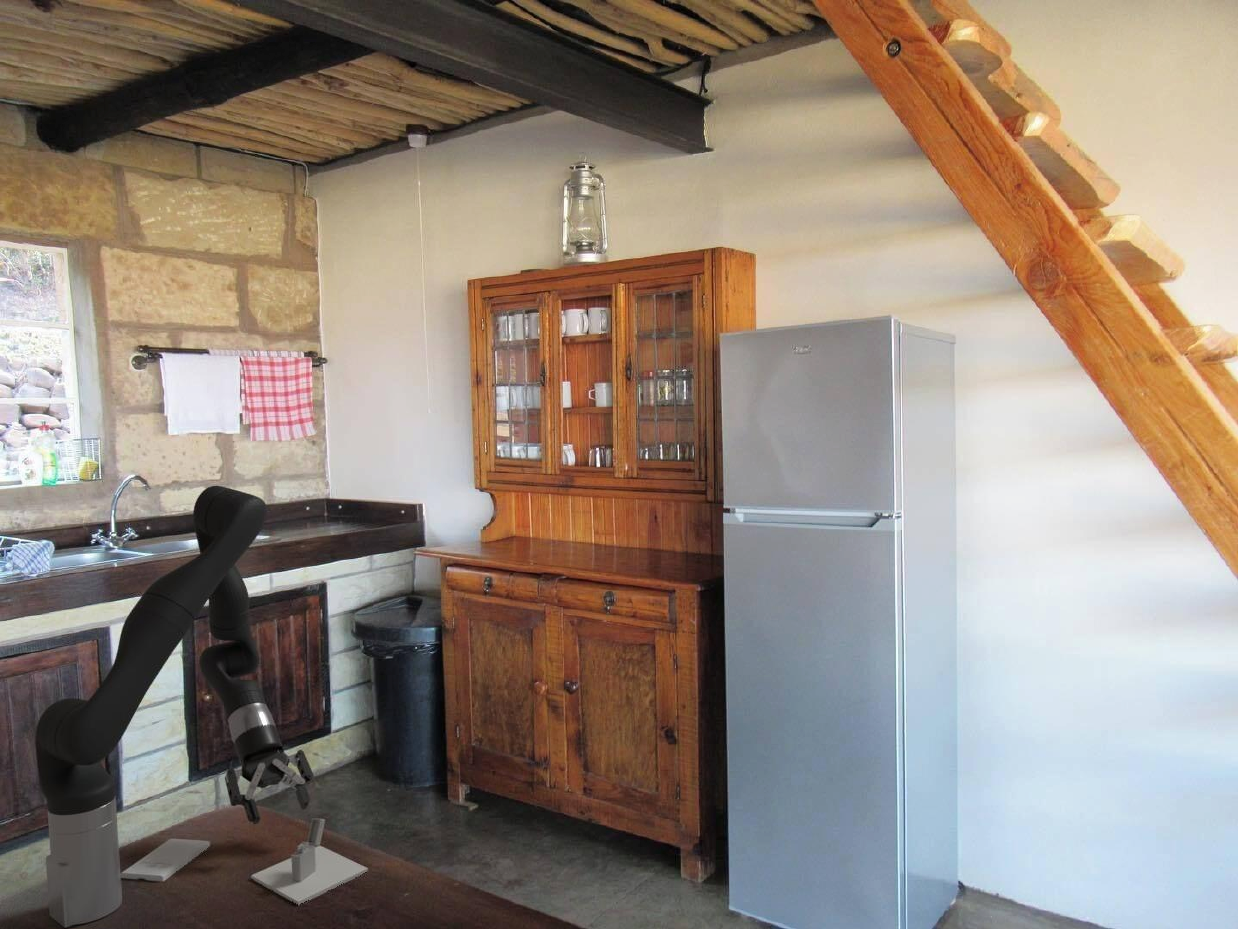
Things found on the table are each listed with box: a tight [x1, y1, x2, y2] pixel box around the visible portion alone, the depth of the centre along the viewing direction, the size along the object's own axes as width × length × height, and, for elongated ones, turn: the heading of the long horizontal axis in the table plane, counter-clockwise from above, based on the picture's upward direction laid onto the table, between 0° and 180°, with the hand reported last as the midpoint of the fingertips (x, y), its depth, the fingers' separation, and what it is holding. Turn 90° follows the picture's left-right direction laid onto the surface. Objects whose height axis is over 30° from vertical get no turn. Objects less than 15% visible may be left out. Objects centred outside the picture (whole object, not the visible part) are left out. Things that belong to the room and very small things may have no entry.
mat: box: [250, 845, 369, 906], centre depth 155 cm, size 13×14×1 cm
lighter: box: [290, 817, 326, 882], centre depth 155 cm, size 7×2×8 cm, turn 161°
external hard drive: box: [120, 838, 211, 882], centre depth 161 cm, size 2×8×12 cm
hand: (281, 814), depth 164 cm, fingers open, 8 cm apart
